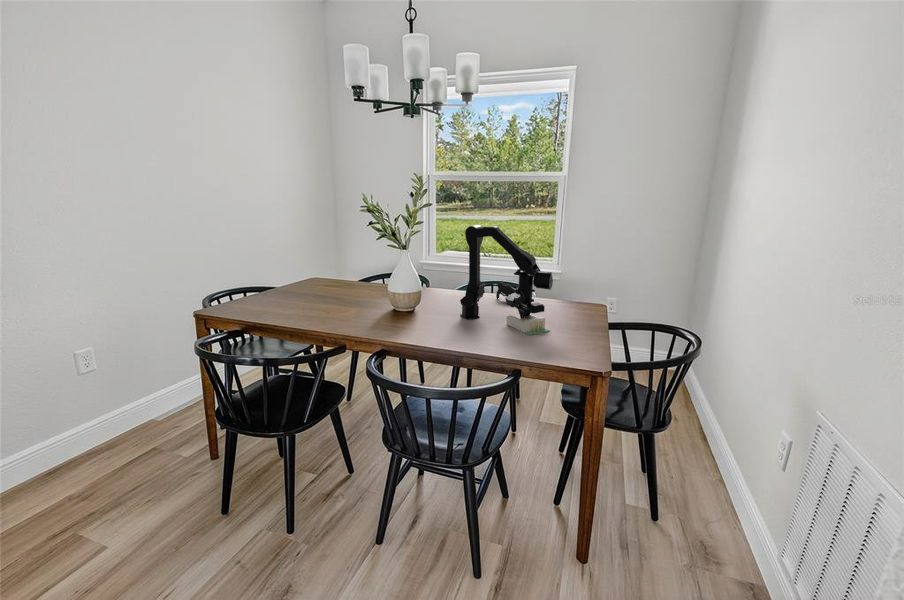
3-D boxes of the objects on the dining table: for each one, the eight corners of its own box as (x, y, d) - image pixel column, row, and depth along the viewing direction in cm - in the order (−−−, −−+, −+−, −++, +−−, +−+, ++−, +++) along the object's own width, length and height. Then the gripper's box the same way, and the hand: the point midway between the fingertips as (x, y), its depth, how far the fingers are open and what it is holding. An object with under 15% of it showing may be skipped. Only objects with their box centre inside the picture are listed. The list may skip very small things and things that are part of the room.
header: (528, 335, 162) (528, 323, 161) (505, 324, 175) (506, 312, 173) (551, 331, 167) (552, 318, 166) (527, 320, 180) (528, 308, 179)
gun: (515, 314, 206) (525, 298, 201) (491, 295, 212) (499, 279, 207) (518, 313, 208) (528, 297, 203) (494, 294, 214) (502, 278, 209)
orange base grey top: (528, 331, 167) (529, 320, 166) (520, 327, 171) (521, 316, 170) (537, 329, 169) (538, 318, 168) (529, 325, 173) (530, 315, 172)
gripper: (495, 283, 173) (494, 319, 178) (523, 294, 158) (521, 333, 162) (517, 280, 178) (515, 315, 183) (546, 291, 163) (543, 328, 167)
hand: (523, 323), depth 174 cm, fingers closed
